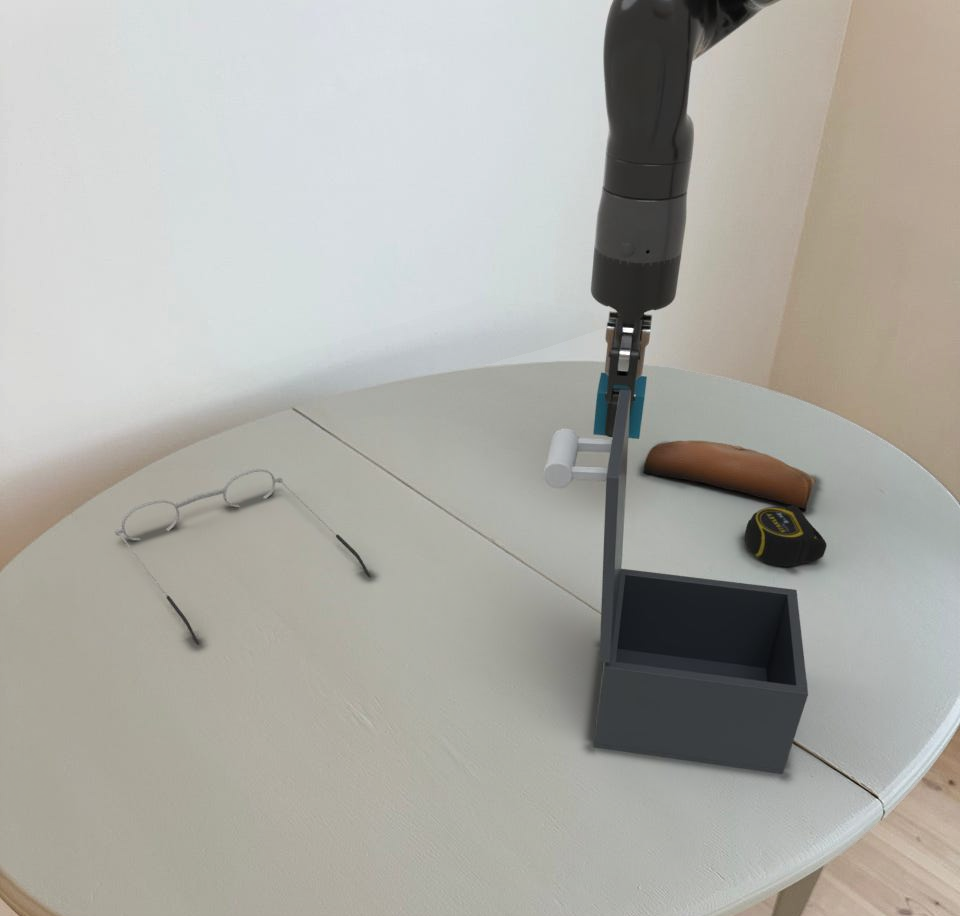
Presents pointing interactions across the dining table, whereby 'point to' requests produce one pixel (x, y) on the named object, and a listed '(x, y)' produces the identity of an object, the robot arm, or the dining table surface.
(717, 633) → the open box
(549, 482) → the lid
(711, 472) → the sunglasses case
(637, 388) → the blue block
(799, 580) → the dining table surface
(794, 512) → the tape measure
